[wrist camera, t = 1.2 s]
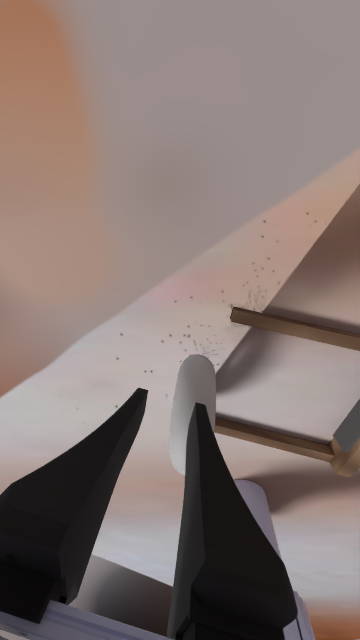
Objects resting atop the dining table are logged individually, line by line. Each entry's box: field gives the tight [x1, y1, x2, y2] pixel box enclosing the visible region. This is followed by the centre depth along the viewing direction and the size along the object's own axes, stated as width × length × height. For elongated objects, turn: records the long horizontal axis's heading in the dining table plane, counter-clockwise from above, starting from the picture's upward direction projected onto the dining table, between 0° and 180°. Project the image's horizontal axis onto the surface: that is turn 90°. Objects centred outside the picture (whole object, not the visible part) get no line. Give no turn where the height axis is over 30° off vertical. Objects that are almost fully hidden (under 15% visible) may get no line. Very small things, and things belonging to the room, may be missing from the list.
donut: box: [169, 354, 216, 476], centre depth 17 cm, size 10×4×10 cm, turn 178°
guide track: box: [214, 307, 360, 478], centre depth 20 cm, size 16×18×2 cm
